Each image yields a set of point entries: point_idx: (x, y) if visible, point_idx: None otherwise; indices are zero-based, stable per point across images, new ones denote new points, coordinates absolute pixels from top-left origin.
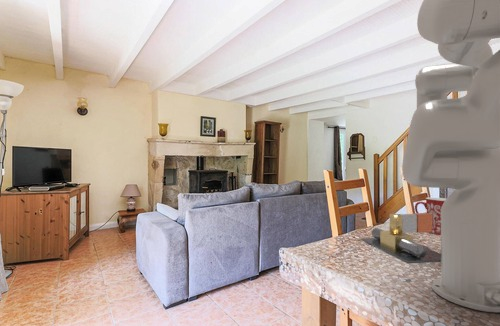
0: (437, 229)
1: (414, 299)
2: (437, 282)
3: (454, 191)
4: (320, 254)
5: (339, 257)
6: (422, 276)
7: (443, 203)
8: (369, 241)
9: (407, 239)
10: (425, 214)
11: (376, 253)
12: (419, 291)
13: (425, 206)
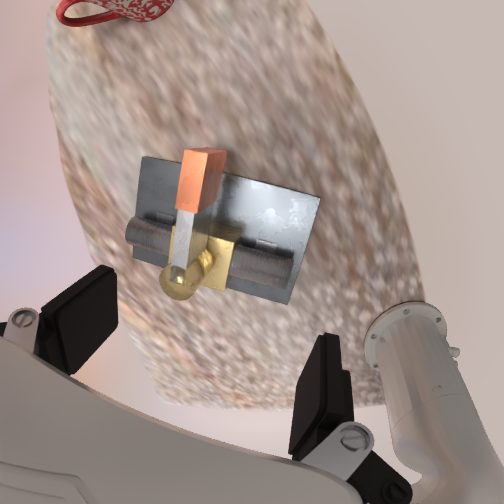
0: (153, 11)
1: (366, 394)
2: (371, 356)
3: (419, 471)
4: (194, 382)
5: (216, 372)
6: (338, 334)
7: (399, 460)
8: (156, 262)
9: (232, 255)
10: (202, 181)
11: (219, 305)
12: (360, 376)
13: (82, 1)
